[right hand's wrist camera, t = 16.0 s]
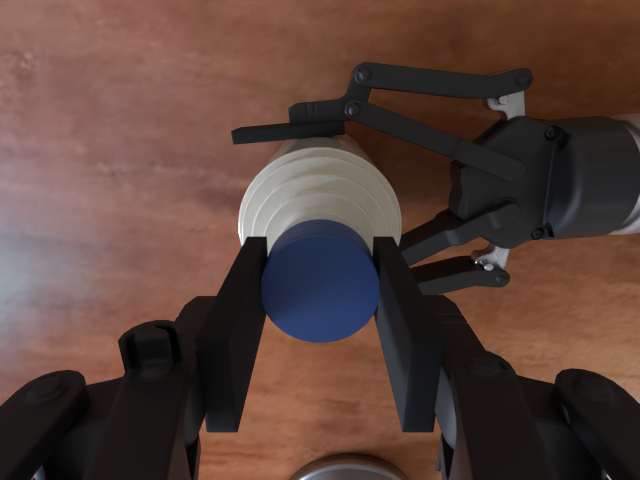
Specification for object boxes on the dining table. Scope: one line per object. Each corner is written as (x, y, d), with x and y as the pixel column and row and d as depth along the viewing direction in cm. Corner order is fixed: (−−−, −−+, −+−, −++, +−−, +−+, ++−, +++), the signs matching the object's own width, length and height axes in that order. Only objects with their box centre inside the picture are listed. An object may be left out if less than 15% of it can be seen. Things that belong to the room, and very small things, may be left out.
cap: (372, 312, 15) (379, 341, 14) (272, 316, 15) (265, 344, 14) (373, 216, 14) (381, 233, 12) (261, 220, 14) (253, 239, 12)
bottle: (371, 226, 31) (429, 375, 15) (273, 230, 32) (221, 383, 15) (371, 124, 28) (445, 166, 12) (263, 129, 29) (184, 177, 12)
